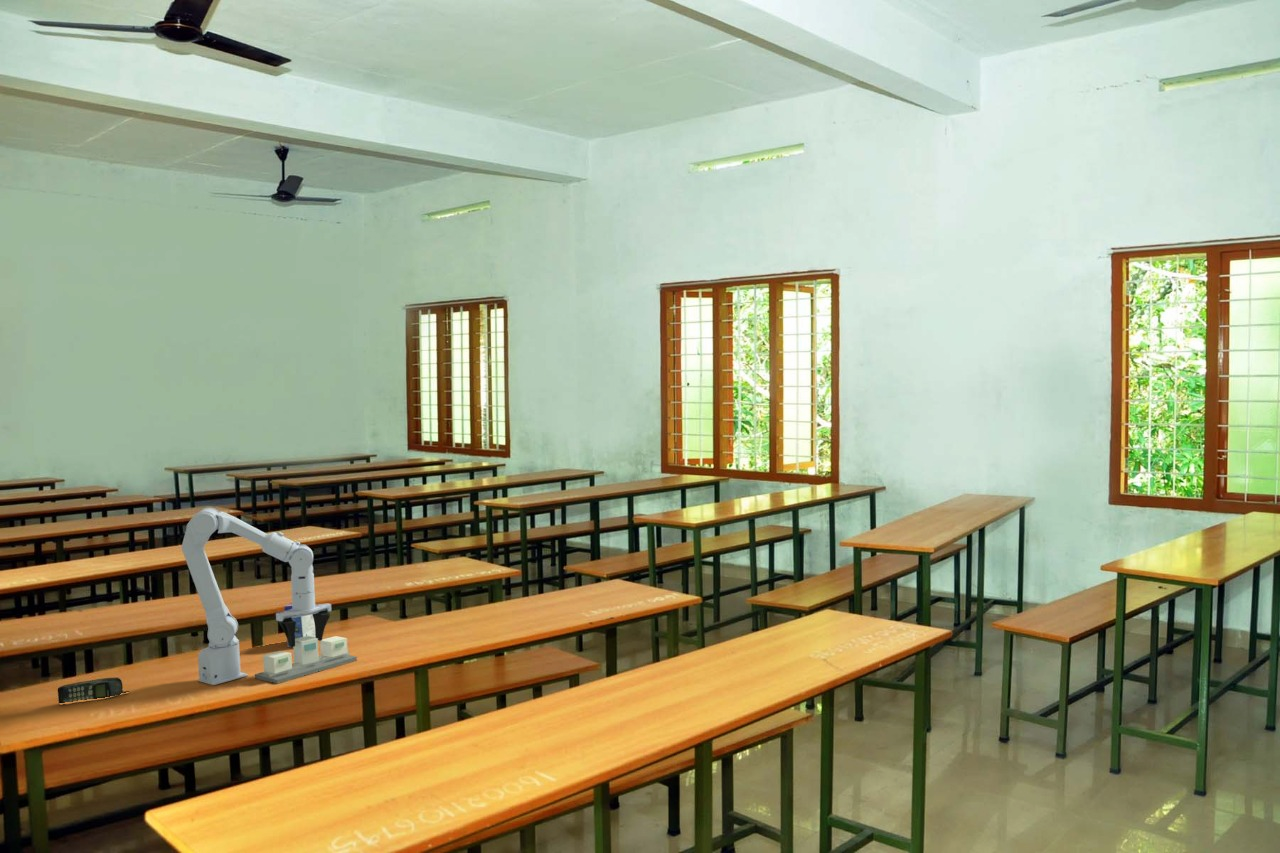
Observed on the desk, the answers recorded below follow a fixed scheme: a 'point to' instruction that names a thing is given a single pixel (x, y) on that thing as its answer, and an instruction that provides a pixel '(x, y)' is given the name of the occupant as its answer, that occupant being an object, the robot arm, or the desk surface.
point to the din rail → (299, 666)
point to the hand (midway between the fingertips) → (305, 643)
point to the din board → (308, 670)
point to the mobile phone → (90, 690)
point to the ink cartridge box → (303, 625)
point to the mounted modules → (284, 659)
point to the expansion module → (306, 650)
